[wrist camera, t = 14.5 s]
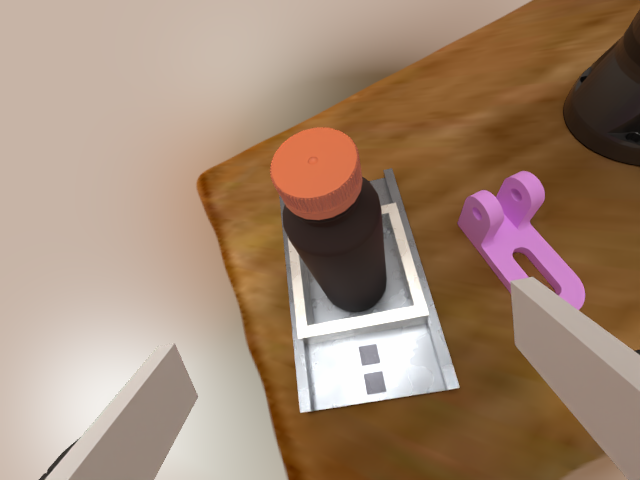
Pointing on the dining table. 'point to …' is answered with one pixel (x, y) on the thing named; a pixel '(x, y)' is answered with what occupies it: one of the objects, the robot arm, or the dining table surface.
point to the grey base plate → (369, 326)
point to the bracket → (516, 235)
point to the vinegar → (332, 216)
